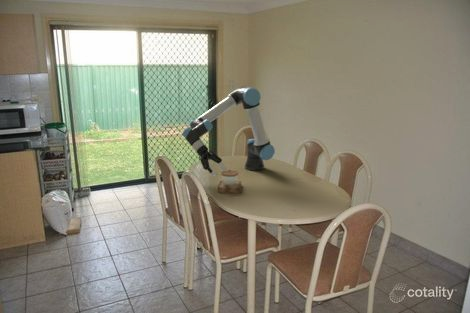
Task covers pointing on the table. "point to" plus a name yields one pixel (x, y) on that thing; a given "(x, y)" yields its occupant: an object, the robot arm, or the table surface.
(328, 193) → the table surface
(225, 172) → the lidded jar
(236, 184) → the base
